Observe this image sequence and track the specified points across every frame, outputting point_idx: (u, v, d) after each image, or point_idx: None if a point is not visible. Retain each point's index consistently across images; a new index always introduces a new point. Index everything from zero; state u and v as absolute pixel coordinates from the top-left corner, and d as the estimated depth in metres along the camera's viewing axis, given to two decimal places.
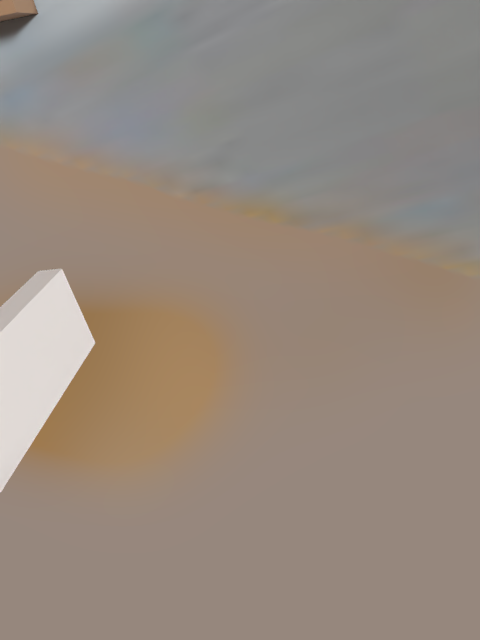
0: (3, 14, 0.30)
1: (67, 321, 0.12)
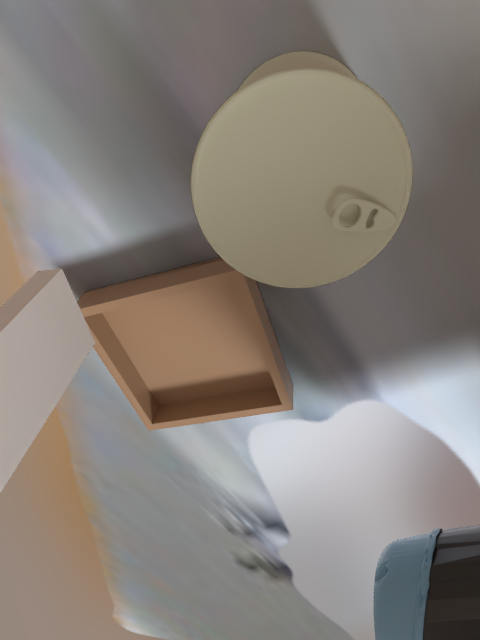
0: (144, 423, 0.40)
1: (67, 321, 0.12)
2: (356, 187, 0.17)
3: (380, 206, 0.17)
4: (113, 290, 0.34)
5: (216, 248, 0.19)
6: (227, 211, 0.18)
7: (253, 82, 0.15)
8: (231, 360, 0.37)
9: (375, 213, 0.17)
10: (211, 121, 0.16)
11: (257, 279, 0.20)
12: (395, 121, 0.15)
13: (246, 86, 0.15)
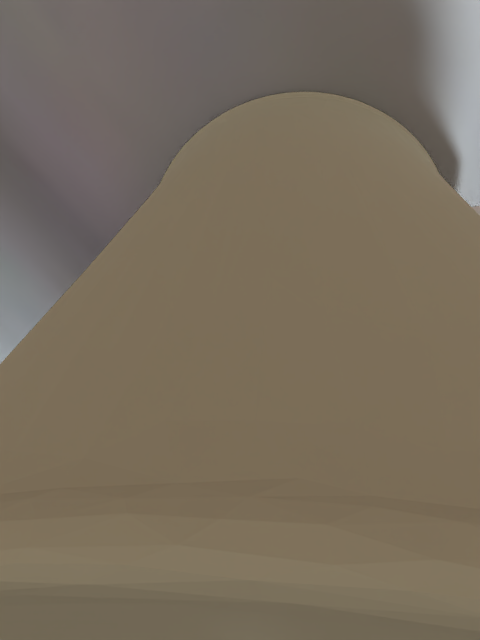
0: None
1: None
2: None
3: None
4: None
5: None
6: None
7: None
8: None
9: None
10: None
11: None
12: None
13: None
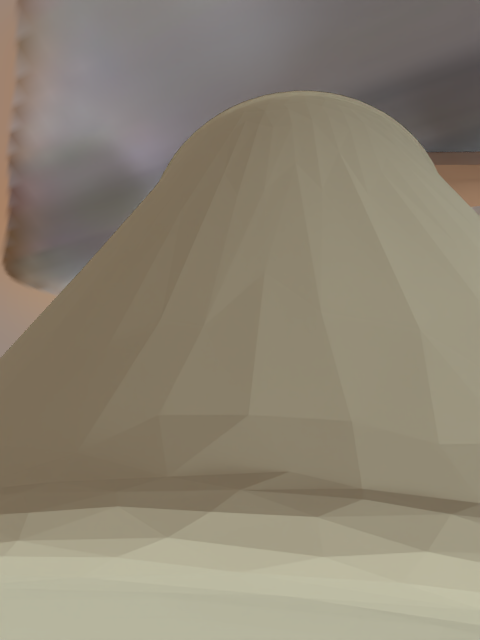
0: None
1: None
2: None
3: None
4: None
5: None
6: None
7: None
8: None
9: None
10: None
11: None
12: None
13: None
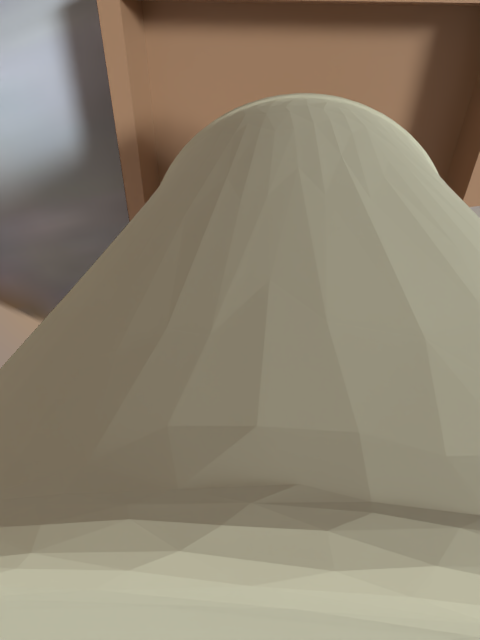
0: None
1: None
2: None
3: None
4: None
5: None
6: None
7: None
8: None
9: None
10: None
11: None
12: None
13: None
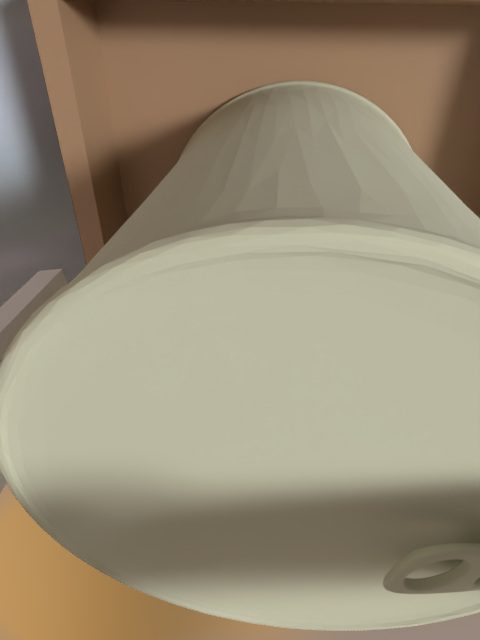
0: None
1: None
2: (459, 508, 0.06)
3: None
4: None
5: (100, 568, 0.08)
6: (111, 518, 0.07)
7: (117, 264, 0.04)
8: None
9: None
10: (7, 359, 0.05)
11: (202, 611, 0.09)
12: None
13: (95, 275, 0.04)
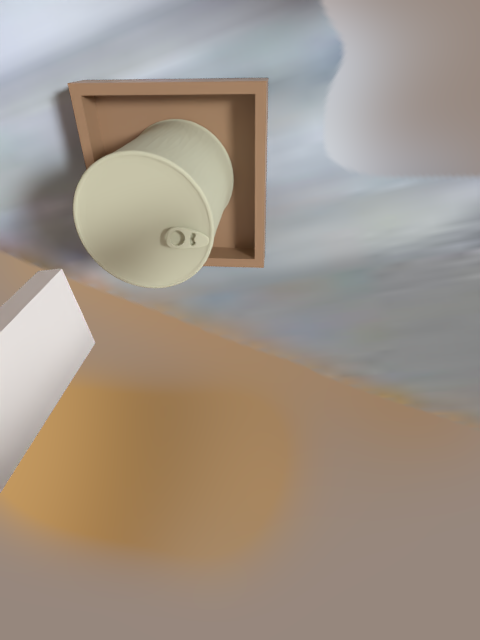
0: (251, 266, 0.37)
1: (67, 321, 0.12)
2: (179, 220, 0.26)
3: (196, 231, 0.26)
4: None
5: (99, 263, 0.28)
6: (101, 238, 0.27)
7: (99, 159, 0.24)
8: None
9: (195, 235, 0.26)
10: (78, 183, 0.25)
11: (131, 283, 0.29)
12: (190, 179, 0.24)
13: (95, 162, 0.24)
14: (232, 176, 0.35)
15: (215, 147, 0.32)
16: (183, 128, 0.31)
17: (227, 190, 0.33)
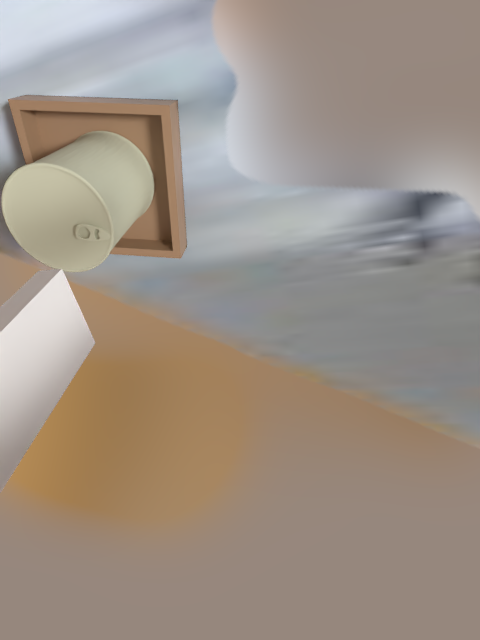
0: (171, 257, 0.44)
1: (67, 321, 0.12)
2: (85, 218, 0.32)
3: (99, 227, 0.33)
4: None
5: (26, 250, 0.35)
6: (26, 230, 0.34)
7: (18, 169, 0.31)
8: None
9: (99, 231, 0.33)
10: (4, 186, 0.32)
11: (52, 267, 0.35)
12: (90, 187, 0.31)
13: (15, 170, 0.31)
14: (152, 180, 0.41)
15: (132, 156, 0.39)
16: (104, 140, 0.37)
17: (143, 192, 0.39)
